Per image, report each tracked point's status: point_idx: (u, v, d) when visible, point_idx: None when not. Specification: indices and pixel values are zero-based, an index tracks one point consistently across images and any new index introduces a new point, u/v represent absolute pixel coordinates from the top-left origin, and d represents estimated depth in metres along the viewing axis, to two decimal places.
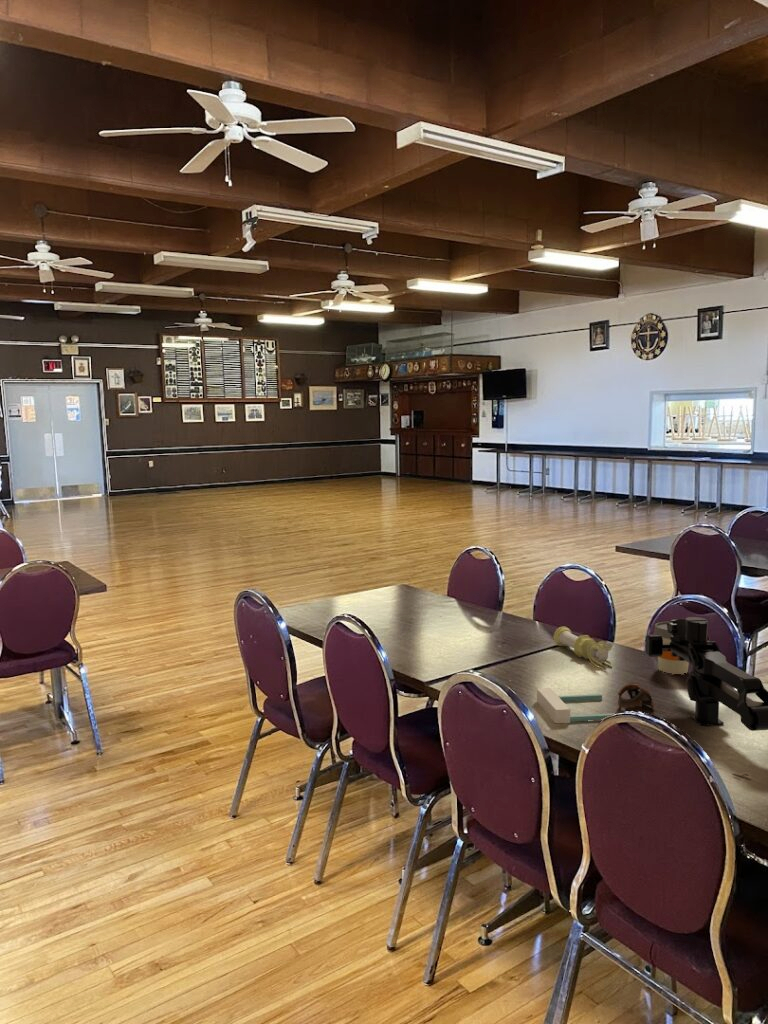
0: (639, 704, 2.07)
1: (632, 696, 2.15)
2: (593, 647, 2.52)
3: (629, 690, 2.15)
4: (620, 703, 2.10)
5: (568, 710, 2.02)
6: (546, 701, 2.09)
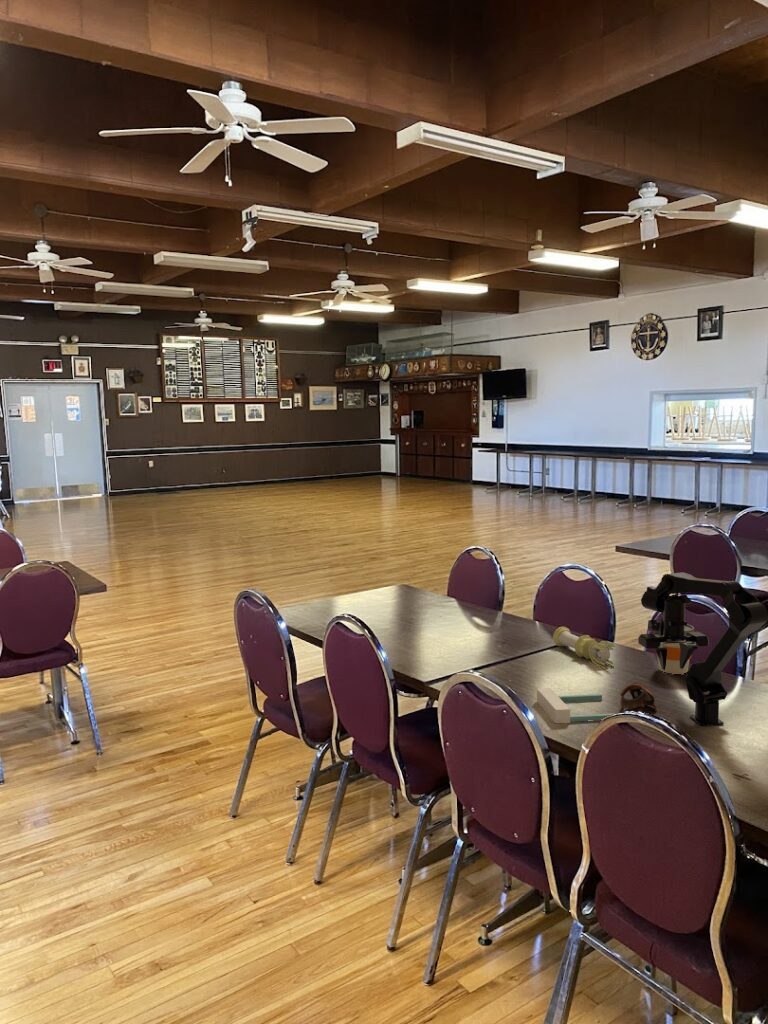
0: (642, 704, 2.06)
1: (634, 696, 2.15)
2: (595, 647, 2.52)
3: (631, 690, 2.14)
4: (622, 703, 2.10)
5: (568, 710, 2.02)
6: (546, 701, 2.09)
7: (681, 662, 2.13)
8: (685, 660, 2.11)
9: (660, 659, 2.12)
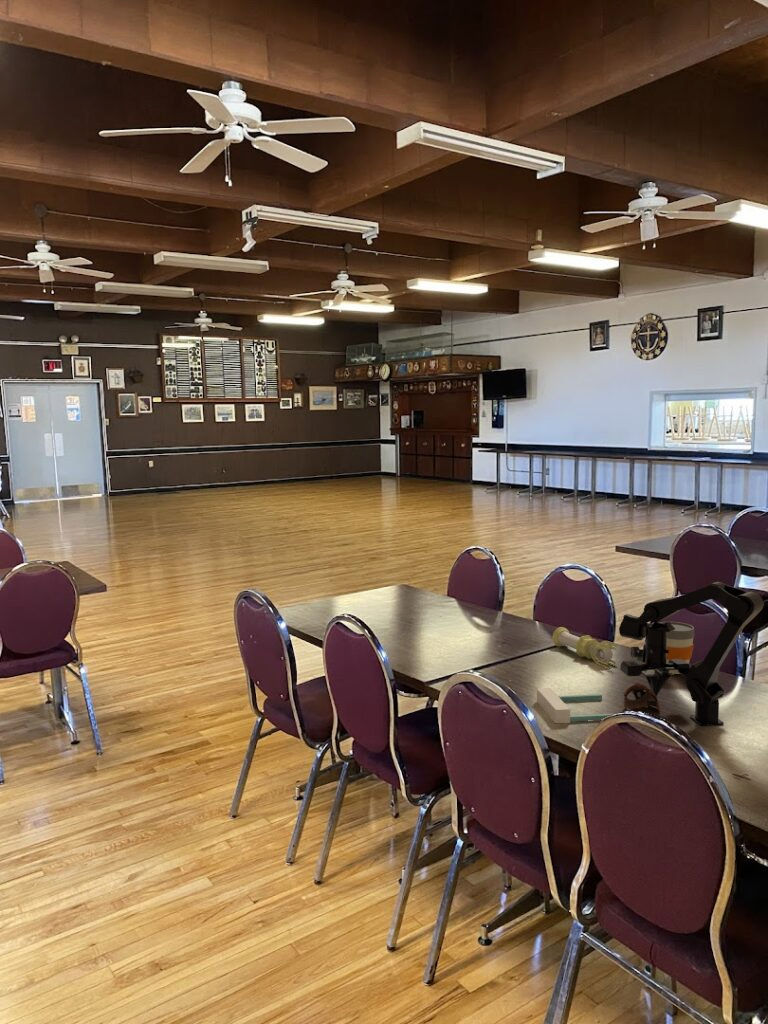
0: (645, 705, 2.06)
1: (637, 696, 2.15)
2: (597, 647, 2.52)
3: (634, 691, 2.14)
4: (626, 704, 2.10)
5: (568, 710, 2.02)
6: (546, 701, 2.09)
7: None
8: (658, 688, 2.11)
9: (650, 686, 2.12)
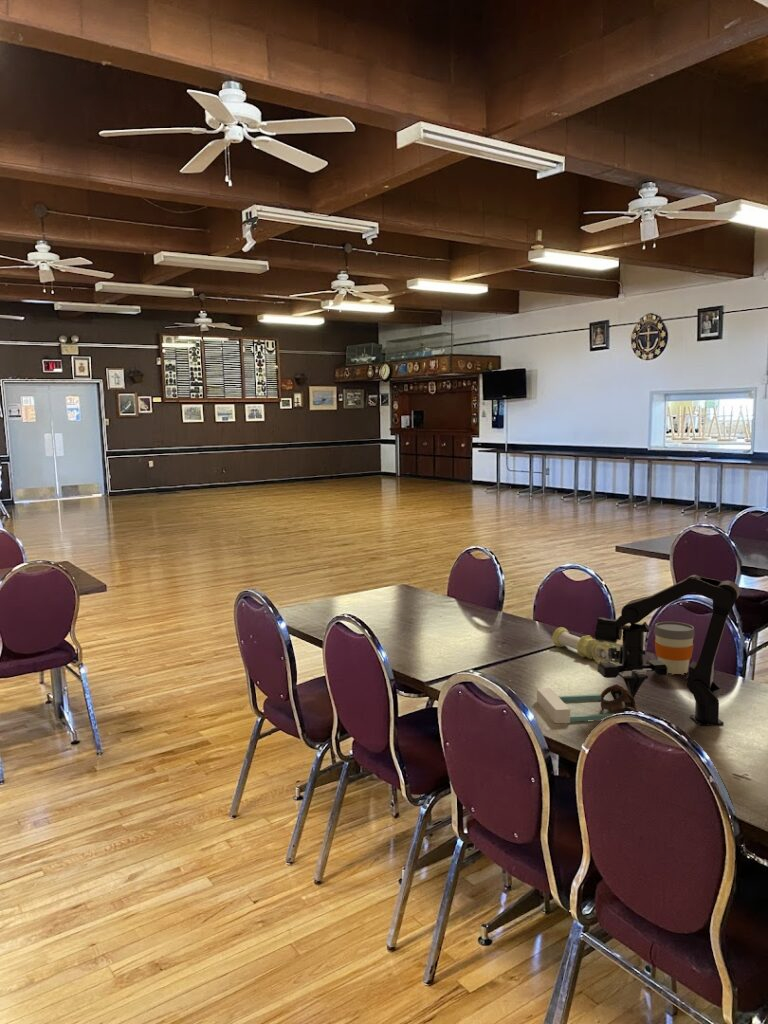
0: (620, 706, 2.05)
1: (615, 697, 2.14)
2: (599, 647, 2.52)
3: (612, 692, 2.13)
4: (602, 705, 2.09)
5: (568, 710, 2.02)
6: (546, 701, 2.09)
7: None
8: (636, 689, 2.10)
9: (628, 687, 2.12)
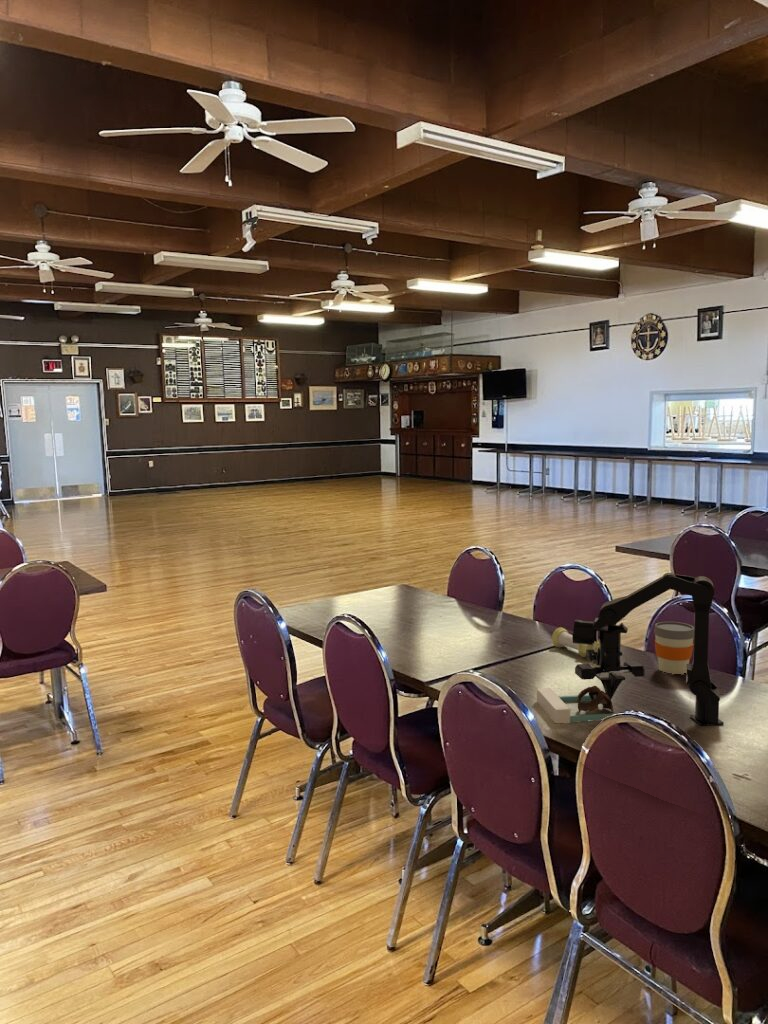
0: (596, 707, 2.04)
1: (593, 699, 2.13)
2: None
3: (590, 693, 2.12)
4: (578, 706, 2.08)
5: (568, 710, 2.02)
6: (546, 701, 2.09)
7: None
8: (613, 691, 2.10)
9: (605, 689, 2.11)
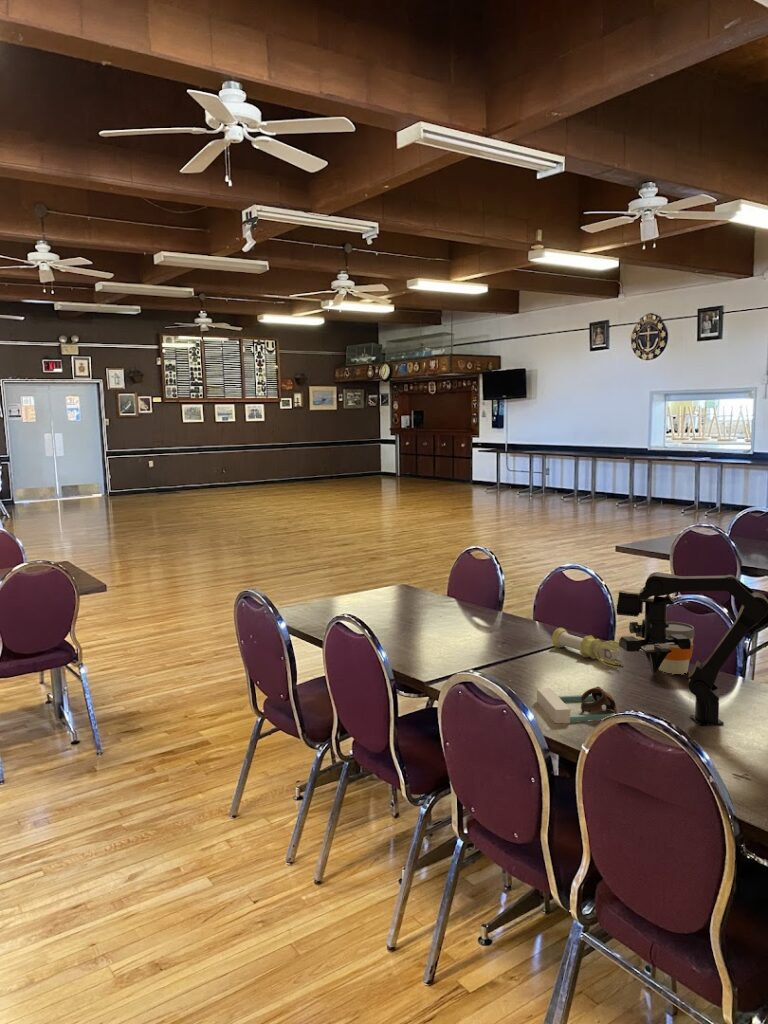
0: (600, 708, 2.04)
1: (597, 700, 2.12)
2: (603, 647, 2.52)
3: (593, 694, 2.12)
4: (582, 707, 2.08)
5: (568, 710, 2.02)
6: (546, 701, 2.09)
7: None
8: (658, 664, 2.05)
9: (650, 662, 2.06)
